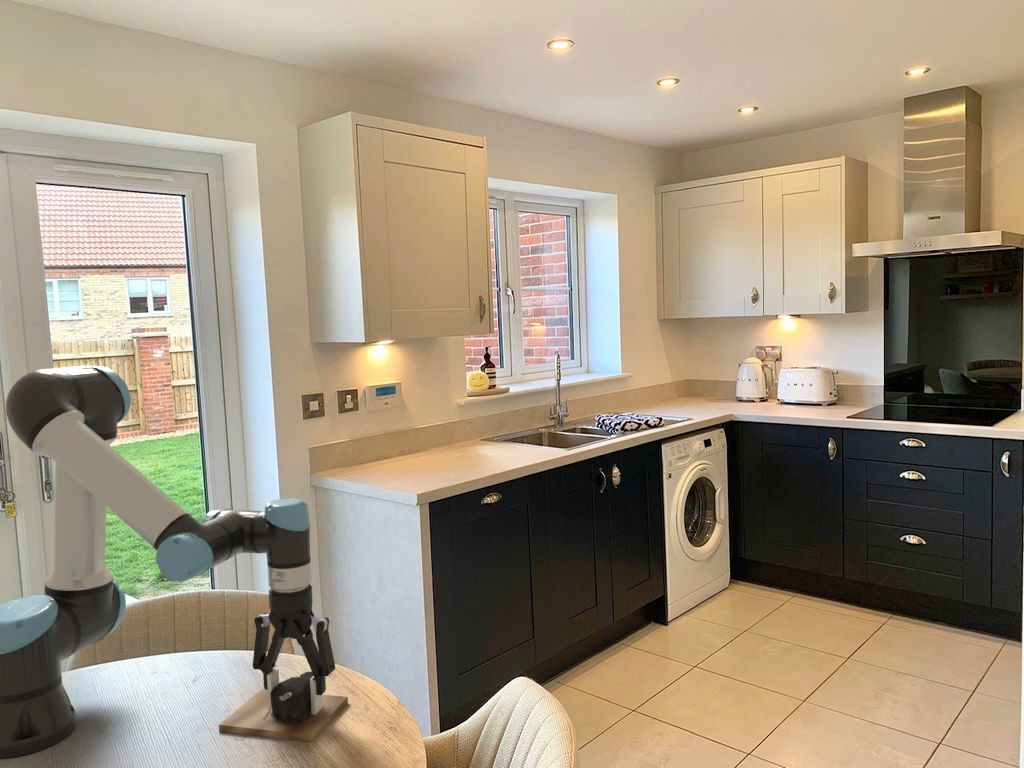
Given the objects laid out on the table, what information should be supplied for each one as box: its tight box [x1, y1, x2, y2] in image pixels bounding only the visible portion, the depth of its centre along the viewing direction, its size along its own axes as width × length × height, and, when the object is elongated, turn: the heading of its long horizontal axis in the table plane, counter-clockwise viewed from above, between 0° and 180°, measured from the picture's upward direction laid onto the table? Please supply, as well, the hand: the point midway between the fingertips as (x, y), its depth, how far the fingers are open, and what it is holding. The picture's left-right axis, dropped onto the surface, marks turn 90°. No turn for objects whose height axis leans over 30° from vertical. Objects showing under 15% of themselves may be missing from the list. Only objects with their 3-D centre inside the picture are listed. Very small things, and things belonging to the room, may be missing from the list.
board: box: [218, 688, 349, 743], centre depth 144 cm, size 18×14×1 cm
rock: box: [270, 671, 314, 724], centre depth 142 cm, size 9×10×6 cm
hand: (295, 708), depth 143 cm, fingers closed on rock, 8 cm apart
